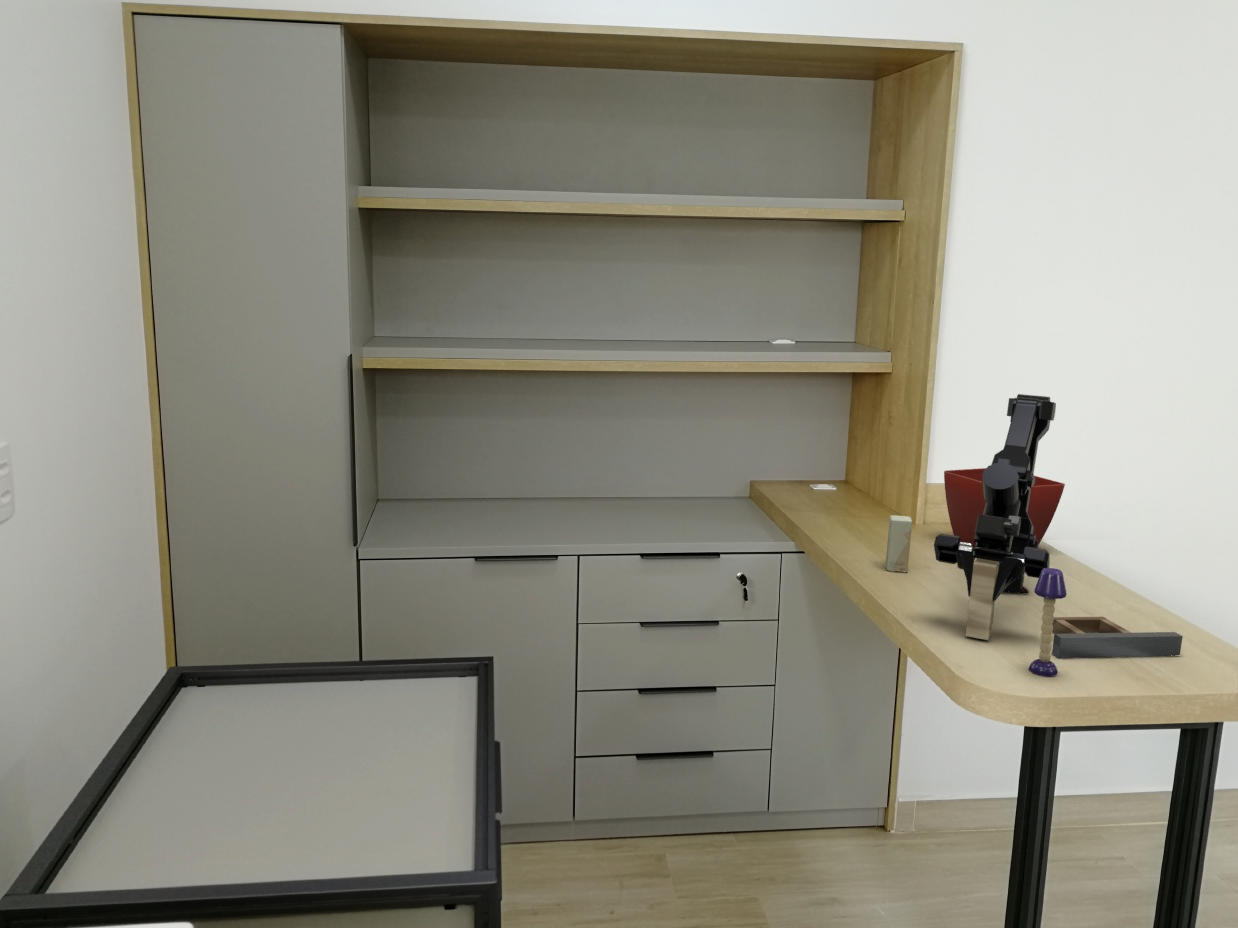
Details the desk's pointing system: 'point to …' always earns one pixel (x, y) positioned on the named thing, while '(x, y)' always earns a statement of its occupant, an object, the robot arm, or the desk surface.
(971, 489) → the plant pot
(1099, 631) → the collar
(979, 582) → the wooden square post
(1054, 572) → the toy lamp
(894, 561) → the box
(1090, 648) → the rail
